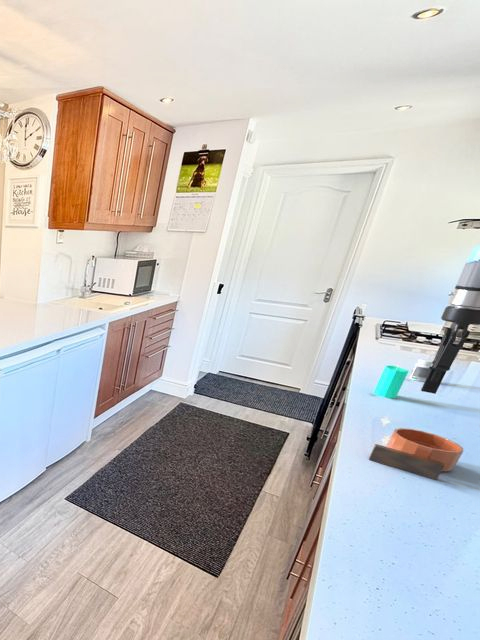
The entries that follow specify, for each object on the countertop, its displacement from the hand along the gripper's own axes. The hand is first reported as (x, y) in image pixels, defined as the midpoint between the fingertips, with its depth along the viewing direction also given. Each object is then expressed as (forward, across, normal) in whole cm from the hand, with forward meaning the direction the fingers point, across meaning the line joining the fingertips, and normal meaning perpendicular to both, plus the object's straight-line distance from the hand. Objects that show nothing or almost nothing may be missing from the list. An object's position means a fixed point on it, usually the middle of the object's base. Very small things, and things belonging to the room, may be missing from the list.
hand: (428, 391), depth 112 cm
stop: (+14, +26, -2) cm, 30 cm away
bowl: (+14, +17, +1) cm, 22 cm away
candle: (+14, -41, -5) cm, 44 cm away
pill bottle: (+14, -77, +5) cm, 78 cm away
